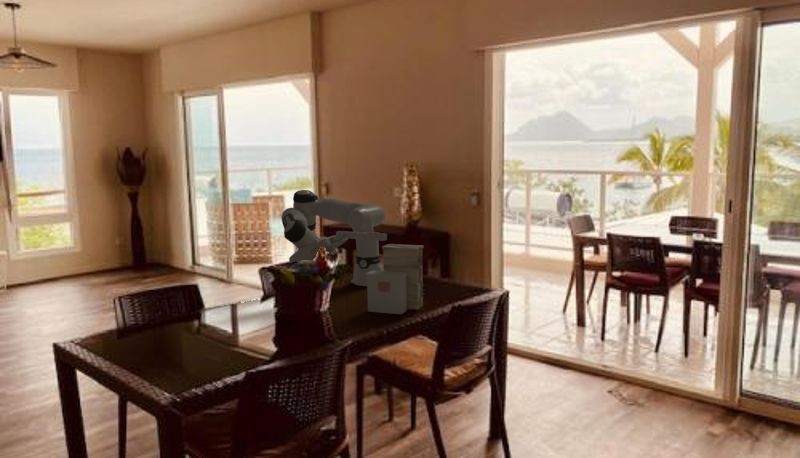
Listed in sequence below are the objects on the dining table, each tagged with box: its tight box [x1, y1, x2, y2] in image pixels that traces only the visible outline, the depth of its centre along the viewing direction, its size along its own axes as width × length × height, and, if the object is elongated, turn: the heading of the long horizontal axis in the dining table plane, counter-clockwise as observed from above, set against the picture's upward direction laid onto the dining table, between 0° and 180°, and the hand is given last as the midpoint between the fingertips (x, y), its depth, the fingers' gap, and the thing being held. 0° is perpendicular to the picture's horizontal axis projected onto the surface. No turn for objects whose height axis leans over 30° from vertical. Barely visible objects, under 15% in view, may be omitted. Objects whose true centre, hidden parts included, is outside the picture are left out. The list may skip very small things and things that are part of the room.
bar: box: [335, 230, 388, 242], centre depth 253 cm, size 22×3×3 cm, turn 69°
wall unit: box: [381, 243, 425, 311], centre depth 256 cm, size 8×16×26 cm, turn 70°
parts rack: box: [365, 271, 408, 315], centre depth 250 cm, size 7×16×16 cm, turn 70°
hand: (345, 233), depth 255 cm, fingers closed on bar, 3 cm apart
